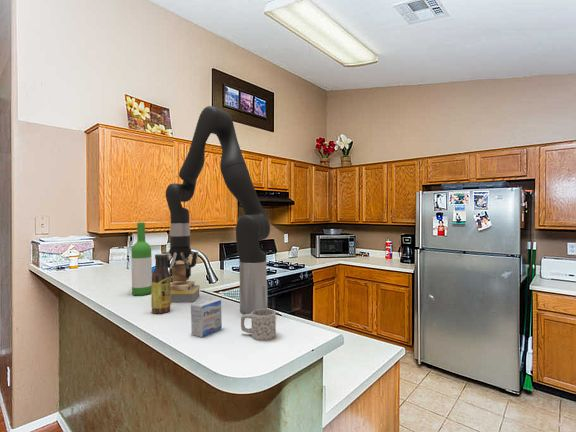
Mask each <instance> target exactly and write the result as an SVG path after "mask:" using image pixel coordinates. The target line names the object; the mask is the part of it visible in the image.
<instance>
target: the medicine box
mask: <svg viewBox="0 0 576 432" xmlns="http://www.w3.org/2000/svg"><path fill="white" fill-rule="evenodd" d="M222 318H223V317H222V300H221V299H217V298H209V299H205V300H203V301H199V302H196V303H194V304H193V303H192V304H191V305H190V323H191V324H190V325H191V326H190V327H191V330H190V332H191V335H192V336H196V337H201V338H205V337H207V336H209V335H212V334H213V333H217V332H218V331H220V330H222V329H223V328H222V327H223V326H222V325H223V324H222V322H223V321H222Z"/></svg>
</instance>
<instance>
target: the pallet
mask: <svg viewBox="0 0 576 432" xmlns="http://www.w3.org/2000/svg"><path fill="white" fill-rule="evenodd" d="M194 285H195V280H187V281H185V282H171V291H187V290H188V288H191V287H192V286H194Z"/></svg>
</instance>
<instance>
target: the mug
mask: <svg viewBox="0 0 576 432" xmlns="http://www.w3.org/2000/svg"><path fill="white" fill-rule="evenodd" d="M276 315H277V314H276V311H275V310H274V309H271V308H267V309H258V310H254V311H252V312H251V314H242V315H241V317H240V328H241V331H242V332H245V333H246V334H247V333H248V334H251V338H252V340H256V341H259V342H260V341H261V342H264V341H266V342H267V341H271V340H273V339H275V338H276V337H277V336H276V335H277V331H276V324H277V323H276V321H277V319H276ZM245 319H251V328H247V327H245Z"/></svg>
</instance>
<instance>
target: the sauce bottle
mask: <svg viewBox="0 0 576 432" xmlns="http://www.w3.org/2000/svg"><path fill="white" fill-rule="evenodd" d="M154 260H155V265H154V266H155V268H154V269H153V271H152V292H151V300H150V303H151V304H150V305H151V312H152V313H153V314H165V313H168V312H169V311H170V310H171V305H172V302H171V283H172V277H171V272H170V271H169V268H168V267H167V254H162V253H156V254H155V255H154Z"/></svg>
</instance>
